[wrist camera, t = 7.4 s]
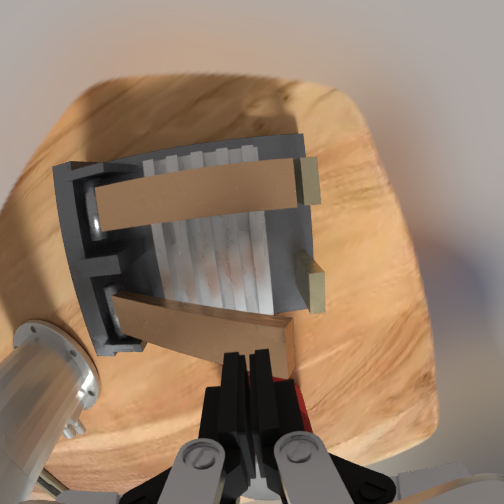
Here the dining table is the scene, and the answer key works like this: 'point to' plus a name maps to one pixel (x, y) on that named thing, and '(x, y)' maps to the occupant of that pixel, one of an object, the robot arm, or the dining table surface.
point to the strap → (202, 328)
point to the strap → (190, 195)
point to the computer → (50, 484)
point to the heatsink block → (194, 241)
